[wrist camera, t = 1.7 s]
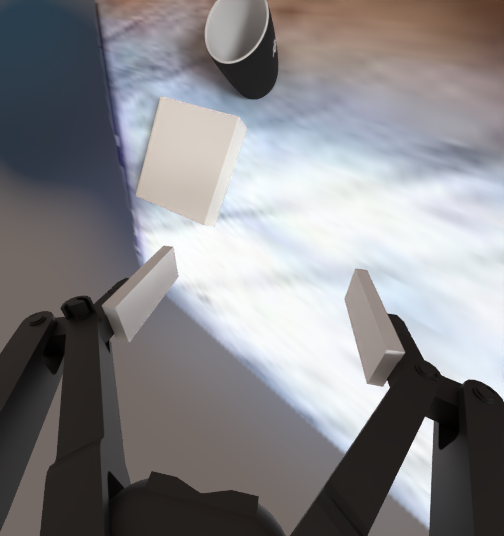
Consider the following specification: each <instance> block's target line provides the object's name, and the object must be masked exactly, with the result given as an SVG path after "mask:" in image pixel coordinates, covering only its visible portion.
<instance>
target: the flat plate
mask: <svg viewBox="0 0 504 536" xmlns="http://www.w3.org/2000/svg"><path fill="white" fill-rule="evenodd" d="M246 132H247V127H246V126H245V124H244V123H243V122H242V120H241V119H240V117H238V116H234V115H231V114H227V113H223V112H219V111H215V110H212V109H208V108H204V107H200V106H196V105H193V104H189V103H185V102H181V101H177V100H173V99H170V98H166V97H162V96H161V98H160V102H159V105H158V109H157V113H156V117H155V121H154V125H153V129H152V133H151V137H150V141H149V145H148V149H147V153H146V157H145V161H144V165H143V169H142V173H141V177H140V180H139V184H138V188H137V192H136V196H137V197H139V198H142V199H144V200H146V201H149V202H151V203H154V204H156V205H158V206H161V207H163V208H165V209H168V210H170V211H172V212H175V213H177V214H179V215H182V216H184V217H186V218H189V219H191V220H193V221H196V222H198V223H200V224H203V225H207V226H213V227H215V224H216V221H217V218H218V215H219V212H220V210H221V207H222V204H223V201H224V198H225V195H226V192H227V189H228V186H229V183H230V180H231V177H232V174H233V171H234V168H235V165H236V162H237V159H238V156H239V153H240V150H241V147H242V144H243V141H244V138H245V135H246Z"/></svg>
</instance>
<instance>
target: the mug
mask: <svg viewBox="0 0 504 536" xmlns="http://www.w3.org/2000/svg"><path fill="white" fill-rule="evenodd" d="M205 43H206V47H207V50H208V52H209V54H210V56H211V57H212V59H213V60H214V62H215V63H216V65H217V66H218V68H219V69H220V70H221V72H222V73H223V74H224V76H225V77H226V78H227V79H228V81H229V82H230V83H231V84H232V85H233V86H234V88H235V89H236V90H237V91H238V92H240V93H241V94H242V95H243V96H245V97H247V98H250V99H259V98H262V97H264V96H265V95H267V94H268V93H269V92H270V91H271V89H272V88H273V86H274V84H275V82H276V79H277V75H278V53H277V45H276V38H275V32H274V26H273V22H272V17H271V13H270V9H269V5H268V2H267V0H217V1H216V2H215V4H214V5H213V7H212V9H211V11H210V13H209V15H208V18H207V21H206V26H205Z"/></svg>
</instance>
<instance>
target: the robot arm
mask: <svg viewBox="0 0 504 536" xmlns="http://www.w3.org/2000/svg"><path fill="white" fill-rule="evenodd" d="M177 278H178V272H177V266H176V260H175V254H174V248H173V247H170V246H163V247H162V248H161V249H160V250H159V251H158V252H157V253H156V254H155V255H154V256H153V257H151V258H150V259H149V260H148V261H147V262H146V263H145V264H144V265H143V266H142V267H141V268H140V269H139V270H138V271H137V272H136V273H135V274H134V275H133V276H132V277H131V278H125V279H123V280H121V281H119V282H117V283H116V284H115V285H114V286H113V287H112V289H110V290H109V291H108V292H107V293H105V295H103V296H102V297H101V298H100V299H99V300H98V301H97V302H96V303H95V304H93V302H92V300H91V298H90V297H88V296H78V297H74V298H71V299H69V300H68V301H66V302H65V303H64V304H63V305H62V306H61V310H62V312H63V314H64V315H65V317H59V318H55V317H54V315H53V314H52V313H51V312H48V311H42V312H38V313H35V314H33V315H31V316H29V317H27V318H26V319H25V320H24V321H23V322H22V323H21V324H20V326H19V327H18V329H17V330H16V332H15V333H14V334H13V336H12V338H11V339H10V340H9V342H8V343H7V345H6V346H5V348H4V349H3V351H2V352H1V354H0V531H1V529H2V526H3V524H4V522H5V519H6V517H7V515H8V512H9V510H10V507H11V504H12V502H13V499H14V497H15V494H16V492H17V489H18V487H19V484H20V481H21V479H22V476H23V474H24V471H25V469H26V466H27V464H28V461H29V459H30V456H31V453H32V451H33V448H34V446H35V443H36V441H37V438H38V435H39V433H40V431H41V428H42V426H43V423H44V420H45V418H46V415H47V413H48V410H49V408H50V405H51V403H52V400H53V397H54V395H55V392H56V390H57V387H58V385H59V382H60V379H61V377H62V374H63V381H62V393H61V406H60V419H59V431H58V445H57V456H56V461H55V463H54V464H52V465H51V466H50V467H49V469H48V471H47V476H46V482H45V491H44V502H43V510H42V520H41V531H40V536H286V535H285V533H284V532H283V530H282V528H281V526H280V525H279V523H278V522H277V521H276V519H275V518H274V517H273V515H272V514H271V513H270V512H269V511H268V510H267V509H265V508H264V507H263V506H261V505H260V504H259V503H258V496H254V495H250V494H246V493H241V492H237V491H233V490H229V491H220V492H211V493H199V492H198V491H196V490H195V489H193V488H192V487H190V486H189V485H188V484H186V483H184V482H183V481H182V480H180V479H179V478H177V477H174V476H170V475H166V474H161V473H157V472H153V471H152V472H151V474H150V477H149V479H144V480H141V481H138V482H136V483H134V484H130V479H129V475H128V472H127V468H126V465H125V458H124V449H123V440H122V432H121V423H120V415H119V406H118V397H117V389H116V380H115V372H114V363H113V354H112V346H111V342H110V338H111V337H112V336H113V335H115V338H116V340H117V341H121V342H127V343H130V341H131V340H132V339H133V337H134V335H135V334H136V333H137V332H138V330H139V329H140V328H141V326H142V325H143V324H144V322H145V321H146V320H147V318H148V317H149V316H150V314H151V313H152V312H153V310H154V309H155V307H156V306H157V305H158V304H159V302H160V301H161V299H162V298H163V297H164V295H165V294H166V293H167V291H168V290H169V289H170V287H171V286H172V285H173V283H174V282H175V281H176V279H177ZM345 303H346V306H347V310H348V314H349V318H350V321H351V325H352V329H353V333H354V336H355V340H356V344H357V348H358V352H359V355H360V359H361V363H362V367H363V370H364V374H365V378H366V382H367V384H371V385H376V386H382V387H383V386H384V384H385V383H386V381H388V384H389V386H390V389H389V390H388V392H387V393H386V395H385V396H384V397H383V399H382V401H381V402H380V403H379V405H378V406H377V408H376V409H375V411H374V412H373V414H372V415H371V417H370V418H369V420H368V421H367V423H366V424H365V426H364V427H363V429H362V430H361V432H360V433H359V435H358V436H357V438H356V439H355V441H354V442H353V443H352V445H351V446H350V448H349V449H348V451H347V452H346V454H345V455H344V457H343V458H342V460H341V461H340V463H339V464H338V466H337V467H336V469H335V471H334V472H333V473H332V475H331V476H330V478H329V479H328V480H327V482H326V483H325V485H324V487H323V488H322V489H321V491H320V492H319V494H318V495H317V497H316V498H315V500H314V501H313V503H312V504H311V506H310V508H309V509H308V510H307V512H306V513H305V514H304V516H303V517H302V519H301V520H300V522H299V523H298V525H297V526H296V528H295V529H294V531H293V532H292V534H291V535H290V536H368V533H369V530H370V529H371V527H372V524H373V523H374V520H375V519H376V516H377V514H378V512H379V510H380V508H381V506H382V504H383V502H384V500H385V498H386V496H387V494H388V492H389V490H390V488H391V486H392V484H393V481H394V479H395V477H396V475H397V473H398V471H399V469H400V467H401V465H402V463H403V461H404V459H405V457H406V455H407V453H408V451H409V448H410V446H411V444H412V442H413V440H414V438H415V436H416V434H417V432H418V430H419V428H420V426H421V424H422V422H423V420H424V418H425V417H427V418H429V419H432V420H434V431H433V455H432V480H431V505H430V530H429V536H504V402H503V399H502V398H501V397H500V396H499V394H498V393H497V392H496V391H494V390H493V389H492V388H491V387H489V386H488V385H486V384H484V383H482V382H479V381H476V380H467V381H465V382H464V383H463V384H461V383H458V382H456V381H453V380H451V379H448V378H446V377H444V376H442V375H441V374H440V372H439V371H438V370H437V368H436V367H435V366H433V365H432V364H431V363H429V362H427V361H425V360H424V359H423V357H422V355H421V353H420V351H419V349H418V348H417V346H416V344H415V342H414V340H413V338H412V337H411V334H410V332H409V331H408V329H407V327H406V325H405V323H404V321H402V320H401V319H400V318H399V317H398V316H397V315H394V314H387V312H386V310H385V308H384V306H383V304H382V301H381V299H380V297H379V295H378V293H377V291H376V288H375V286H374V284H373V282H372V280H371V278H370V276H369V273H368V271H367V270H363V269H355V271H354V274H353V276H352V279H351V282H350V285H349V288H348V291H347V294H346V296H345Z"/></svg>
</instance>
